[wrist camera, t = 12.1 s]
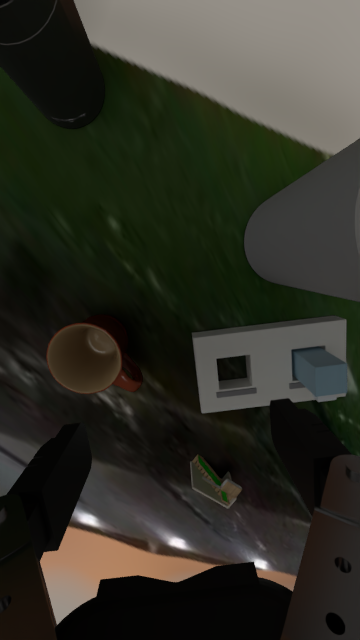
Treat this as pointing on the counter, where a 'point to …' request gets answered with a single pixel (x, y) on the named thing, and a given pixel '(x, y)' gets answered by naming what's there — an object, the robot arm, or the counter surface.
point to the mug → (93, 356)
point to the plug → (319, 372)
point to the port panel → (262, 361)
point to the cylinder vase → (312, 230)
